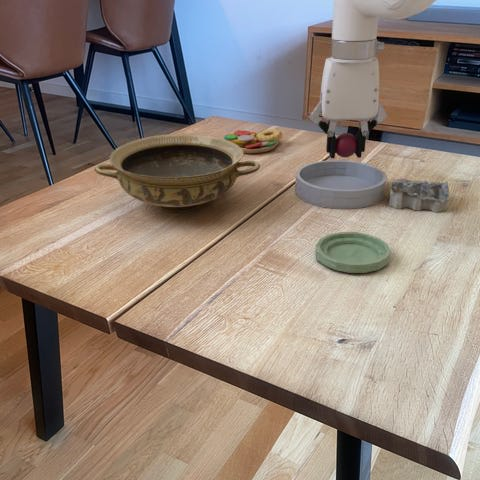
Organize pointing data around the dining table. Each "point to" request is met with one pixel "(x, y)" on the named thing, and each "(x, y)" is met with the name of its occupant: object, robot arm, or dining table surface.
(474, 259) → the dining table surface
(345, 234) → the saucer
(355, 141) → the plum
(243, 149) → the toy food set
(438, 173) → the dining table surface
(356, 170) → the dish
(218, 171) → the ceramic bowl
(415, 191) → the egg carton
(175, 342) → the dining table surface
